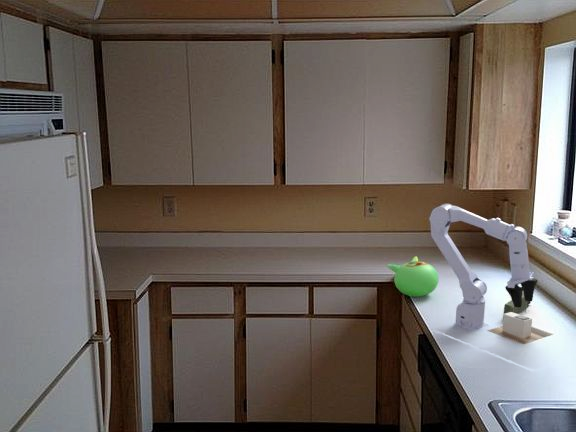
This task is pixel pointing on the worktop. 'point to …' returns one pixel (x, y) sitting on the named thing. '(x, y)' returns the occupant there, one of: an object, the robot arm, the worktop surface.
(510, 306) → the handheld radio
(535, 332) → the board
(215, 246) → the worktop surface
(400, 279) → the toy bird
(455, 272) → the robot arm
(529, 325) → the block
